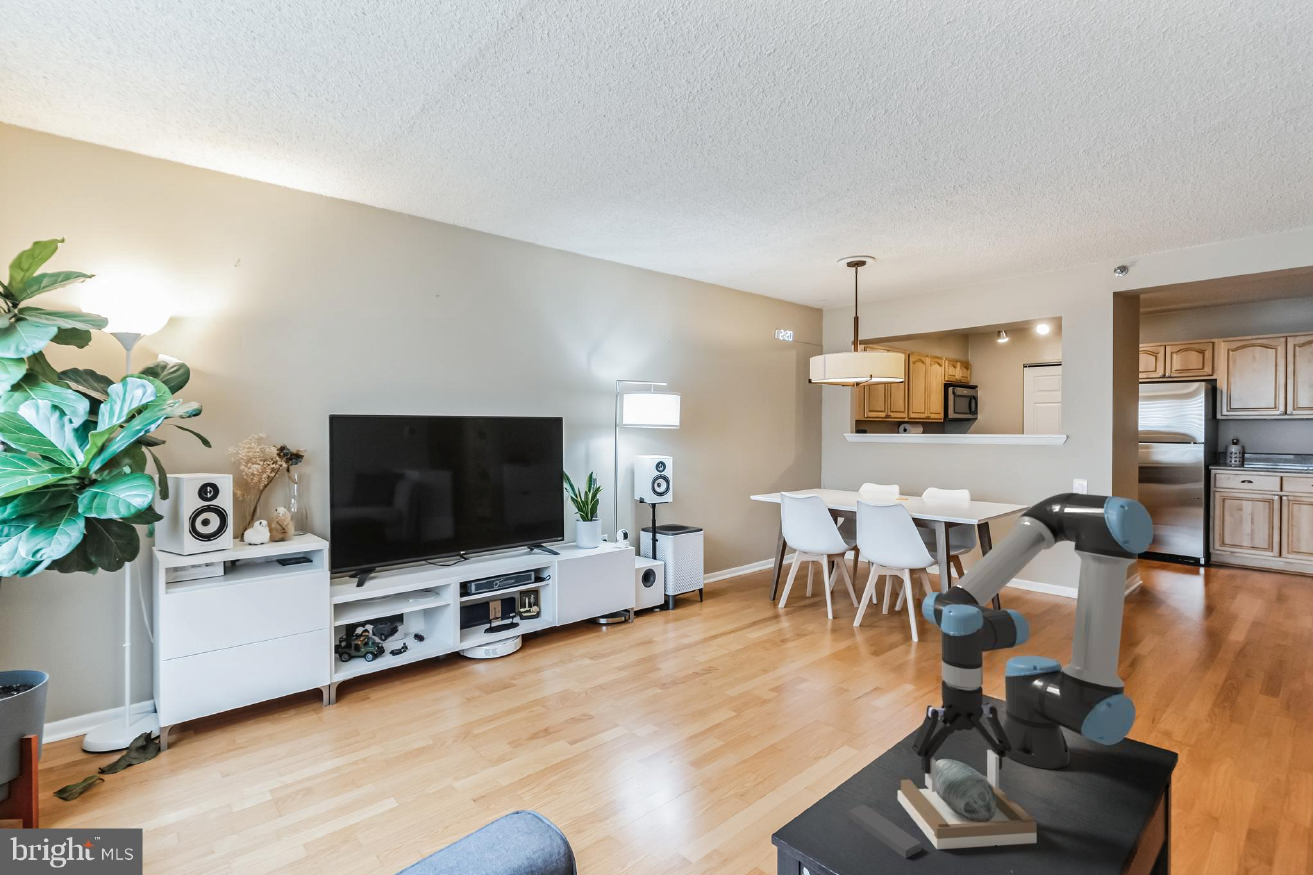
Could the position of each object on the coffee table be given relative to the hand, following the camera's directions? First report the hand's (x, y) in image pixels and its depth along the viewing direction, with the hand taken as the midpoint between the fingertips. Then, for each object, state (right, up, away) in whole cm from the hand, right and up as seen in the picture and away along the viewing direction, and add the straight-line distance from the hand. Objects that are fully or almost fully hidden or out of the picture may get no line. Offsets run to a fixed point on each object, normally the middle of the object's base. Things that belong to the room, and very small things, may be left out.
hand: (961, 786), depth 128 cm
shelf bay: (0, -7, 0) cm, 7 cm away
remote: (-18, -7, -4) cm, 20 cm away
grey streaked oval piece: (0, -5, 0) cm, 5 cm away
